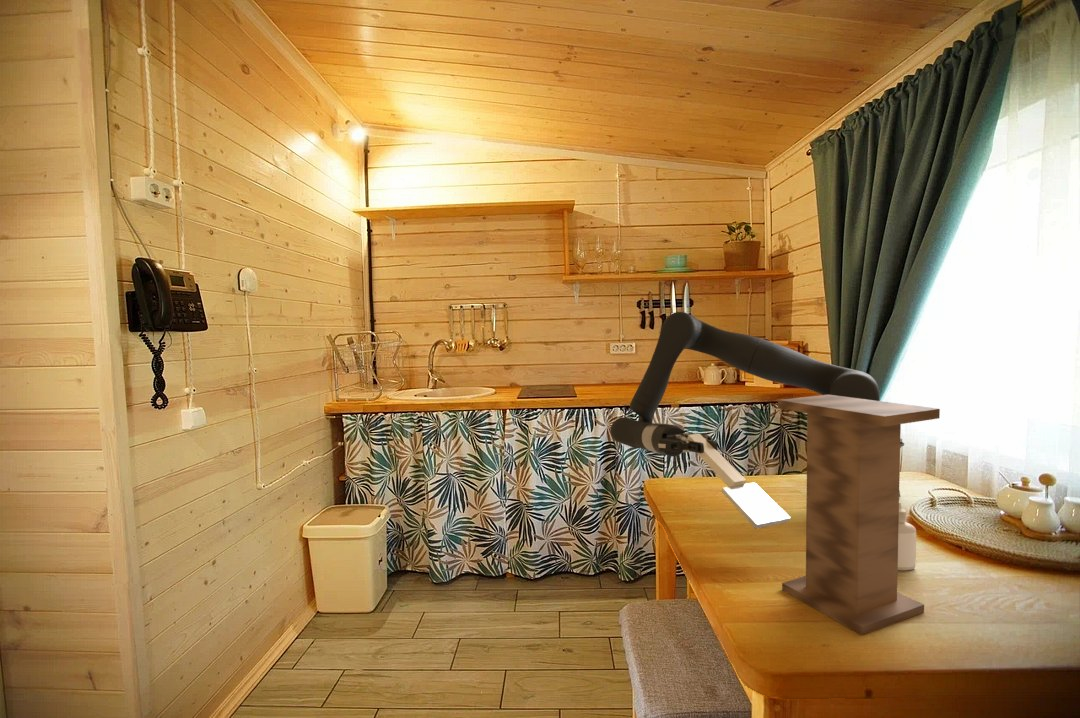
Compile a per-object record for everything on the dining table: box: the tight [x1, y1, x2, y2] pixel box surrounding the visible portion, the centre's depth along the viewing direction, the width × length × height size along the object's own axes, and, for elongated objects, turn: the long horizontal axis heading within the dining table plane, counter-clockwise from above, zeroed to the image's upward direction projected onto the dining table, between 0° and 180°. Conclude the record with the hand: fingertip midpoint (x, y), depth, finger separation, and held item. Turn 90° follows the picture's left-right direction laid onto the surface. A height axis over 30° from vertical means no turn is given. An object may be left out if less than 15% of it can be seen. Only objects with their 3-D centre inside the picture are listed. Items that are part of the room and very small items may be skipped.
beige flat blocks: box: [687, 433, 792, 530], centre depth 105 cm, size 26×8×2 cm, turn 21°
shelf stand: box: [777, 394, 941, 636], centre depth 82 cm, size 18×14×32 cm
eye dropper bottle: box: [898, 501, 917, 571], centre depth 93 cm, size 4×6×12 cm
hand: (709, 447), depth 111 cm, fingers closed on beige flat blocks, 3 cm apart
